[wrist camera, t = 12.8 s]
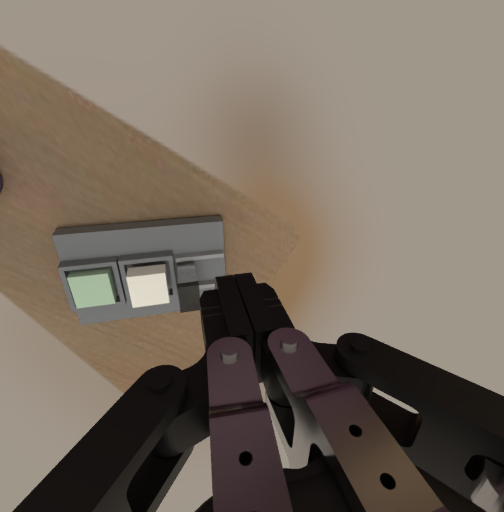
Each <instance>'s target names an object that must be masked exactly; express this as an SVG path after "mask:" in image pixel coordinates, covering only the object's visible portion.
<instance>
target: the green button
mask: <svg viewBox="0 0 504 512" xmlns="http://www.w3.org/2000/svg"><path fill="white" fill-rule="evenodd" d="M67 280H68V283H69V286H70V289H71V292H72V295H73V298H74V301H75V304H76V307H77V309H78V308H85V307H93V306H100V305H108V304H115V303H116V299H117V294H118V293H117V289H116V285H115V281H114V276H113V272H112V268H111V266H109V267H100V268H90V269H81V270H71V271H70V273H69V275H68V277H67Z"/></svg>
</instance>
